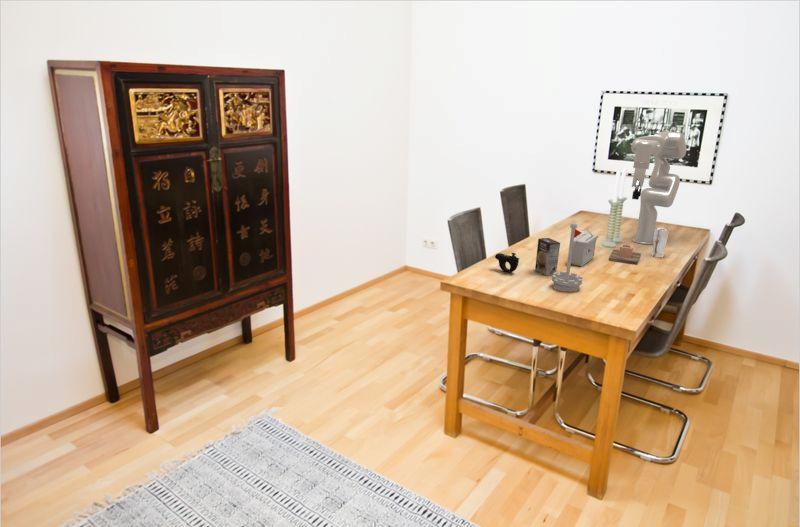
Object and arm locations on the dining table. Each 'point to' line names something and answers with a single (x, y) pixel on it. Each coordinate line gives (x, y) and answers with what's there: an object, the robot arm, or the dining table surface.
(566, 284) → the flag stand
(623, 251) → the bead
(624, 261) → the brown peg stand
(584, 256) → the stereo radio cassette player
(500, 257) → the controller
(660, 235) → the beer glass
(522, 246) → the dining table surface
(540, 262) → the coffee box
